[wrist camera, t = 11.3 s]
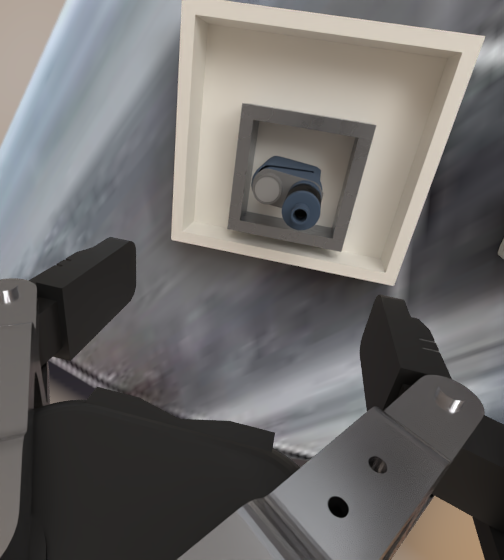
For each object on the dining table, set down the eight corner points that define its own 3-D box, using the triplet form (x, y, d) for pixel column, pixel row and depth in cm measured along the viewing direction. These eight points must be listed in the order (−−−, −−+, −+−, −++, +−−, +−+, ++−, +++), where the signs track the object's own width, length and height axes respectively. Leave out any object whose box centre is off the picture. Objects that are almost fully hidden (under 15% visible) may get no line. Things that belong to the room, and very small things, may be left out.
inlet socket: (249, 103, 30) (242, 103, 27) (371, 123, 29) (376, 125, 26) (234, 219, 34) (227, 229, 32) (340, 240, 33) (341, 252, 31)
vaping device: (317, 197, 32) (313, 242, 21) (261, 180, 32) (229, 217, 22) (327, 168, 31) (328, 201, 20) (268, 151, 31) (238, 174, 21)
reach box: (200, 8, 28) (182, -6, 25) (464, 45, 26) (485, 36, 23) (186, 226, 36) (171, 239, 33) (386, 267, 34) (393, 286, 31)
